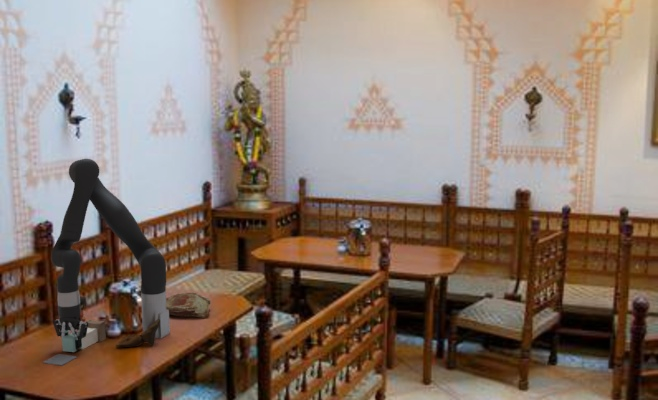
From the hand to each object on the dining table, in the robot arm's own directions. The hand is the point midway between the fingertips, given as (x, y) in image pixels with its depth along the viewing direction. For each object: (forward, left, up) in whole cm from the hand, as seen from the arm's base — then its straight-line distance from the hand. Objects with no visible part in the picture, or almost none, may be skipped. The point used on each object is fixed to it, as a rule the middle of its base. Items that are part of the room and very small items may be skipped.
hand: (72, 348), depth 260 cm
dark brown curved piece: (-19, -13, -2) cm, 23 cm away
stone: (-16, -52, -2) cm, 55 cm away
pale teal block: (0, 0, 0) cm, 0 cm away
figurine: (+16, -25, -2) cm, 30 cm away
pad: (-1, +8, -1) cm, 8 cm away
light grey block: (0, -9, -1) cm, 9 cm away
